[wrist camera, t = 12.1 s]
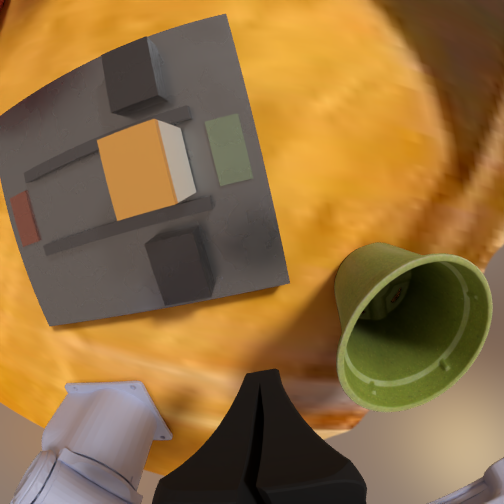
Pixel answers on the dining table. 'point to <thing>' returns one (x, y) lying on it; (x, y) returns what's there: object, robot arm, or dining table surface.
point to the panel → (154, 222)
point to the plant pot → (407, 325)
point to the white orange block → (146, 168)
